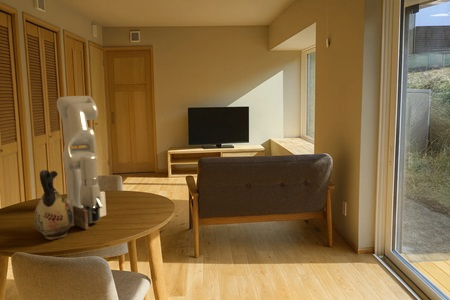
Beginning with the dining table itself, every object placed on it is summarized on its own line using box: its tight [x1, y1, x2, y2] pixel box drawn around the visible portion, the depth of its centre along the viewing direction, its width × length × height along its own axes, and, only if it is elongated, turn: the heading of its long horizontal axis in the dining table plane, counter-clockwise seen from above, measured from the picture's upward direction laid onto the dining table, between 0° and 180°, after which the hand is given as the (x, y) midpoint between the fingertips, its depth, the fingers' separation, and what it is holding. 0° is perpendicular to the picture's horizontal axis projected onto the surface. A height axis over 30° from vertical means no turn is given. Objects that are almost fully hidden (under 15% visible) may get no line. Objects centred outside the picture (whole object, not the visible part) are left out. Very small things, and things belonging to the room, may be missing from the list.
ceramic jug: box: [33, 169, 73, 240], centre depth 186 cm, size 17×15×30 cm
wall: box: [66, 191, 107, 227], centre depth 208 cm, size 3×24×12 cm, turn 146°
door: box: [73, 206, 89, 230], centre depth 199 cm, size 3×13×9 cm, turn 45°
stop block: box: [83, 207, 101, 224], centre depth 203 cm, size 4×6×6 cm, turn 146°
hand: (92, 219), depth 204 cm, fingers closed on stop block, 4 cm apart
